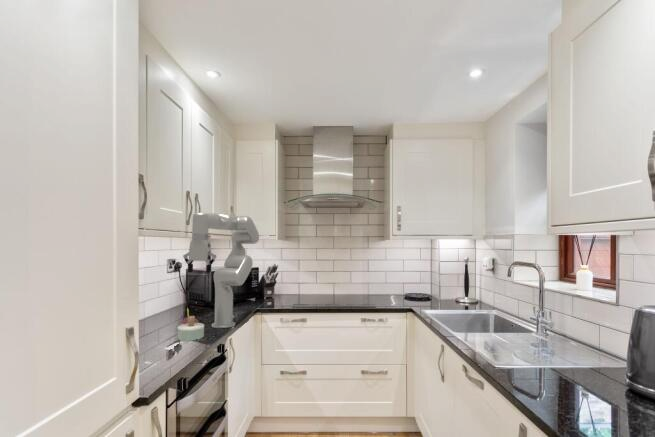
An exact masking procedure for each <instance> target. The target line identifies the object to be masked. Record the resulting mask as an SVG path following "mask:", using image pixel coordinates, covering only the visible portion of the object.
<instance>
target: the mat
mask: <svg viewBox="0 0 655 437" xmlns="http://www.w3.org/2000/svg"><path fill="white" fill-rule="evenodd" d="M179 343H180V342H175V343H173V344H170V345H169V346H167V347H164V348H163V350H167V351H168V350H170V349H173V348H174V346H176V345H177V344H179ZM170 351H171V350H170Z"/></svg>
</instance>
